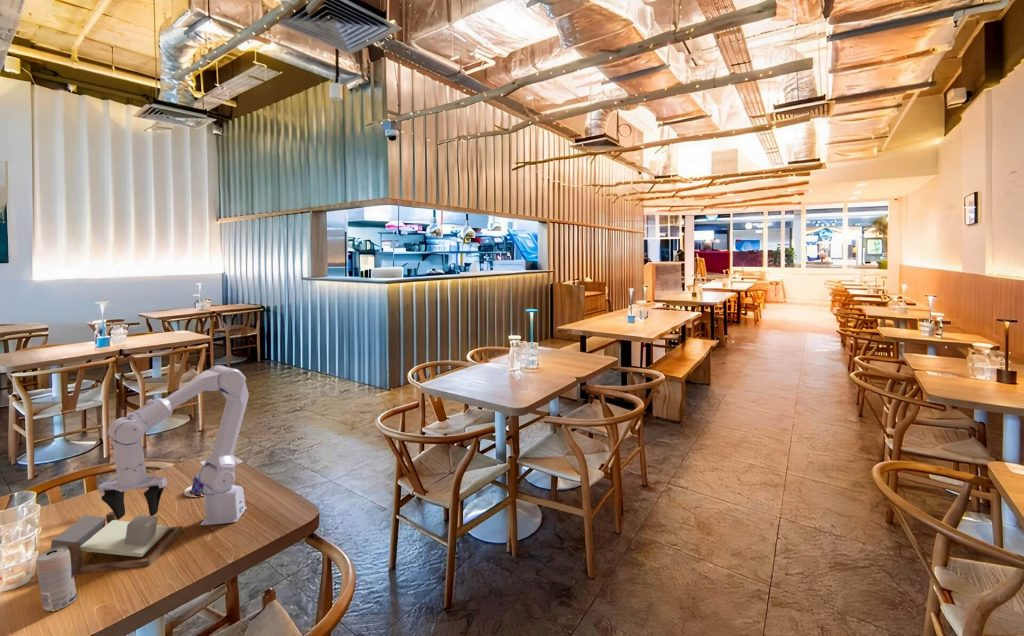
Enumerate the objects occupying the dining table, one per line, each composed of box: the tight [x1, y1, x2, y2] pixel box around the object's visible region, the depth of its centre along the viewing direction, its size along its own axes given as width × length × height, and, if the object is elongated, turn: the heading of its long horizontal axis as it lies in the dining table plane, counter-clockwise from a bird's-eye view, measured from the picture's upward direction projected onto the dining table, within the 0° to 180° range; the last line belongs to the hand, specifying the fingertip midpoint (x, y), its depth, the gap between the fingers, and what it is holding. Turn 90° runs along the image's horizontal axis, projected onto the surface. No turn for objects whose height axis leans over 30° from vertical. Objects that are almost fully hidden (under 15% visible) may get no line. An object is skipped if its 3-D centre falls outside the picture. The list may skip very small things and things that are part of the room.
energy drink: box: [35, 546, 78, 612], centre depth 104 cm, size 5×5×12 cm
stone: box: [125, 514, 159, 546], centre depth 122 cm, size 5×5×5 cm
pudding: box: [183, 473, 204, 498], centre depth 155 cm, size 12×12×5 cm
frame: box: [66, 511, 183, 575], centre depth 122 cm, size 24×16×7 cm
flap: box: [50, 514, 170, 558], centre depth 122 cm, size 20×12×2 cm, turn 100°
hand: (137, 515), depth 121 cm, fingers open, 7 cm apart
